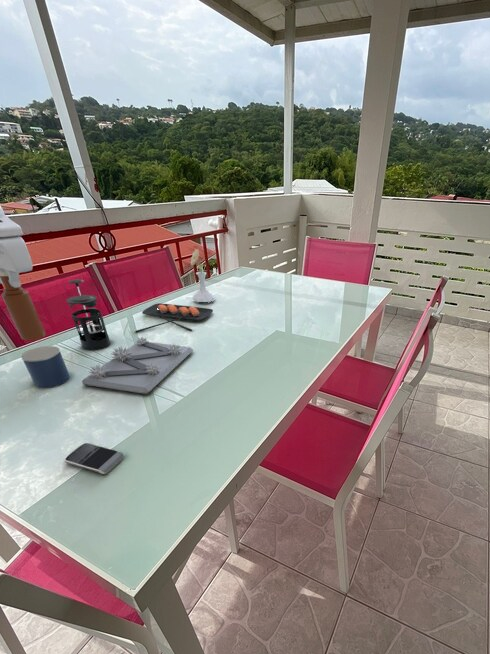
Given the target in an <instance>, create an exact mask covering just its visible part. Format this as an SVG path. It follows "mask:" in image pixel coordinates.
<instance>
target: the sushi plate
mask: <svg viewBox="0 0 490 654" xmlns="http://www.w3.org/2000/svg"><path fill="white" fill-rule="evenodd" d="M157 308H158V309H159V310H157ZM213 311H214V309H212V308H208V307H199V306H190V305H181V304H173V303H154V304H152V305H150V306H149V307H147V308H145V309H144V310H142V311H141V314H143V315H146V316H153V317H158V318H160V319H162V320H164V321H165V322H162V323H157V324H154V325H151V326H148V327H143V328H140V329H136V330H135V333H140V332H143V331H147V330H149V329H152V328H155V327H158V326H162V325H165V324H169V323H170V324H173V325H176V326H179V327H181V328H183V329H185V330H187V331H190V332H193V330H192V328H190V327H187V326H184V325H182V324H180V323H177V322H174V321H179V320H186V321H203V320H205V319H206V318H208V317H209V316H211V314H212V313H213ZM171 319H172V320H171Z"/></svg>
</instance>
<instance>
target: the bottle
mask: <svg viewBox="0 0 490 654" xmlns="http://www.w3.org/2000/svg"><path fill="white" fill-rule="evenodd" d="M0 278H1V280H2V283H3V284H2V285H3V287H4V289H3V292H2V293H1V294H0V295H1V297H2V300H3V302H4V304H5V306H6V309H7V311H8V313H9V316H10V317H11V319H12V321H13V324H14V326H15V328H16V331H17V333H18V334H19V336H20V339H21V340H24V341H33V340H39V339H42V338H44V337H45V336H46V335H47V333H46V331H45V329H44V327H43V324H42V321H41V319H40V317H39V314H38V312H37V309H36V308H35V304H34V303H33V300H32V297H31V295H30V292H29V291H28V290H26V289H24V288H23V287H22V286H20V287H16V288H15V287H12V286H10V283H9V282H8V280H9V276H8V274H7V273H6V271H5V269H0Z"/></svg>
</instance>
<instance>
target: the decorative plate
mask: <svg viewBox="0 0 490 654" xmlns="http://www.w3.org/2000/svg"><path fill="white" fill-rule="evenodd" d="M112 349H113V350H112V351H110V355H112V356H111V357H109V358H110V361H108V362H106V363H105V364H103V365H101V364H95V365H91V366H90V368H89V373H90V374H88V375H87V376H86V377H84V378H83V379H82V380H81V382H82V385H84V386H91V387H97V388H103V389H110V390H117V391H123V392H129V393H136V394H143V395H148V394H149V393H150V392H151V391H152V390H153V389H154V388H155V387H156V386H157V385H158V384H160V383H161V382H162V381H163V380H164V379H165V378H166V377H167V376H168V375H169V374H171V372H172V371H174V369H175V368H176V367H177V366H179V365H180V364H181V363H182V362H183V361H184V360H185V359H186V358H187V357H188V356H189V355H190V354H191V353H192V352H193V351H194V349H193V348H192V347H190V346H184V345H179V344H177V345H176V344H175V342H173V343H171V344H168V343H162V342H161V343H160V342H153V341H150V340H148V339H147V338H146V337H138V338H137V339H136V340H135V343H134V344H133V345H131V346H130V347H128V348H127V346H125V347H124V348H123V345H120V346H119V347H113V348H112Z"/></svg>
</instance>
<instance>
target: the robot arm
mask: <svg viewBox="0 0 490 654" xmlns="http://www.w3.org/2000/svg"><path fill="white" fill-rule="evenodd" d="M23 235H24V232H23V229H22V227H21V226H20V225H19V224H18V223H17V222H15V221H14V220H12V219H11V218H9V216H7V215H6V214H5V211H4V208H3V207H2V206H1V204H0V269H5V271H6V273H7V274H8V276H9V280H8V282H9V283H10V286H12V287H15V288H16V287H22V283H21V281H20V273H27V272H32V271H33V267H34V265H33V264H34V263H33V261H32V257H31V254H30V251H29V249H28V247H27V244H26V242H25V240H24V239H23V238H22V236H23ZM0 284H2V285H3V283H2V280H1V278H0Z"/></svg>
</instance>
